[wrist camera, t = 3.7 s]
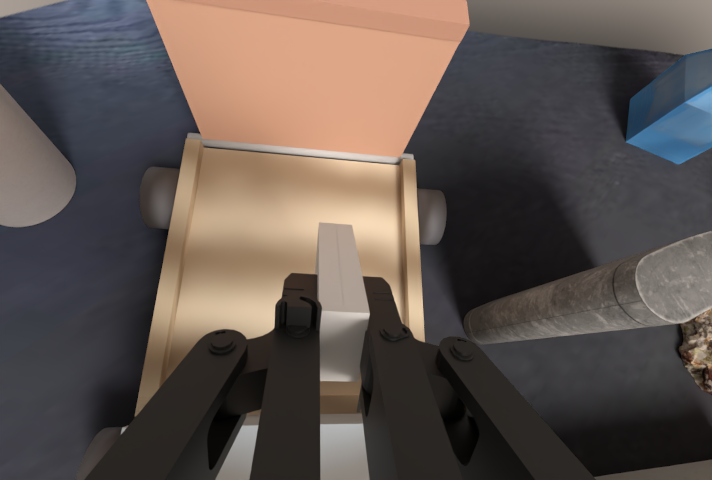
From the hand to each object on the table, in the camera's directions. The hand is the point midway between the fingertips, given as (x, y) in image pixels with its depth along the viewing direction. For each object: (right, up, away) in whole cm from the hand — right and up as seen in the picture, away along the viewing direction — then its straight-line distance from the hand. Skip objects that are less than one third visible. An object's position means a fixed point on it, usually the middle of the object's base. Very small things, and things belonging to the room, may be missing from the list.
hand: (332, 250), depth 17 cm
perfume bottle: (+33, +12, +23) cm, 42 cm away
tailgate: (-3, +7, +12) cm, 14 cm away
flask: (+17, -5, +14) cm, 22 cm away
